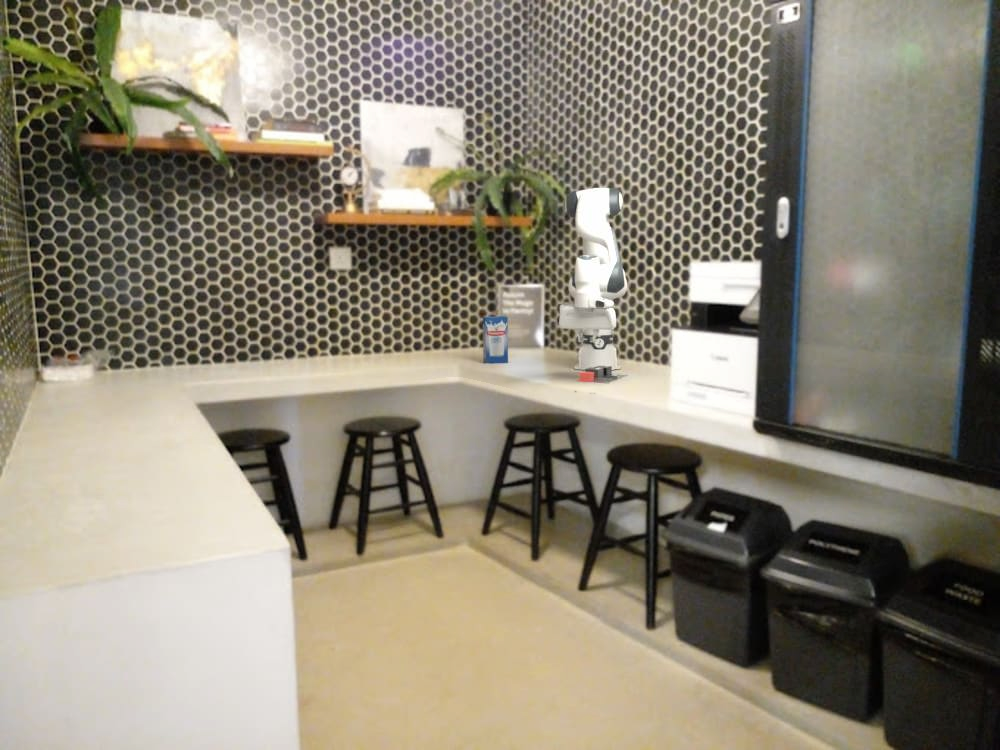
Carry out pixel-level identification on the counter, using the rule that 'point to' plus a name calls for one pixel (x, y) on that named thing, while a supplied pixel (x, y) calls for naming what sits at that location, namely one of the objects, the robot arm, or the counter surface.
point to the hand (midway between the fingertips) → (587, 342)
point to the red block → (586, 376)
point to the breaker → (595, 371)
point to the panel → (607, 375)
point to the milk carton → (495, 339)
